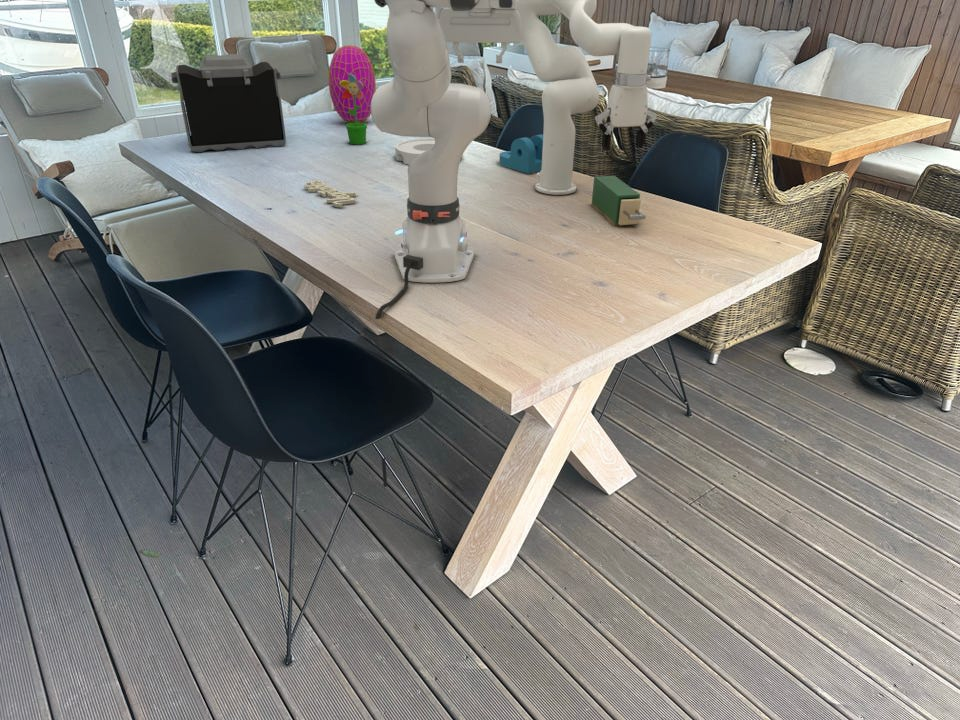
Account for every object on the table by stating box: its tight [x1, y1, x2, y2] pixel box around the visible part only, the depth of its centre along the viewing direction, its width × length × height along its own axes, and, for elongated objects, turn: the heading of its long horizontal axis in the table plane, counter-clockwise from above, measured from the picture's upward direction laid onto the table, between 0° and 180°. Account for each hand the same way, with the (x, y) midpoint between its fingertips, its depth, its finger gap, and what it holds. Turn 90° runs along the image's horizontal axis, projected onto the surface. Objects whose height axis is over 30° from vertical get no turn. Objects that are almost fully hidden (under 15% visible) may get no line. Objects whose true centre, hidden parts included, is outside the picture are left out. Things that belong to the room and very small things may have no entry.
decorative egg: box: [328, 44, 377, 124], centre depth 286 cm, size 19×19×30 cm
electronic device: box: [170, 53, 287, 153], centre depth 252 cm, size 37×22×30 cm, turn 111°
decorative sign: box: [303, 179, 356, 208], centre depth 205 cm, size 26×1×10 cm
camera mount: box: [498, 133, 543, 175], centre depth 233 cm, size 18×10×10 cm, turn 39°
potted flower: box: [339, 73, 368, 145], centre depth 255 cm, size 9×8×25 cm
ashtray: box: [394, 138, 435, 166], centre depth 243 cm, size 23×23×4 cm
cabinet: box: [590, 175, 641, 227], centre depth 191 cm, size 18×6×8 cm, turn 12°
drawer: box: [618, 198, 647, 226], centre depth 186 cm, size 22×5×6 cm, turn 12°
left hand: (479, 62), depth 168 cm, fingers open, 8 cm apart
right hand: (622, 148), depth 185 cm, fingers open, 9 cm apart
